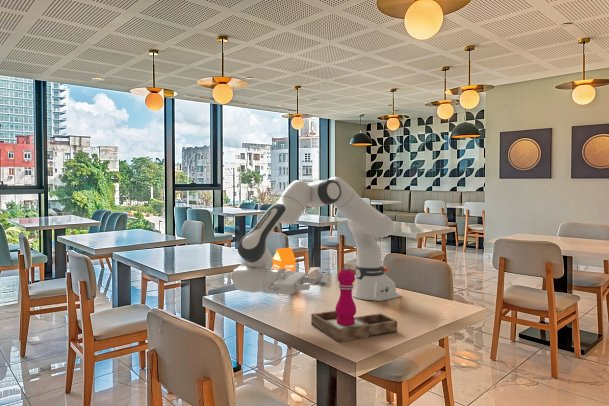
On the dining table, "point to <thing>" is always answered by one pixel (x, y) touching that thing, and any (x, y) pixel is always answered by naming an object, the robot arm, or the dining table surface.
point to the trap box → (353, 326)
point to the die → (315, 273)
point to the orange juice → (284, 259)
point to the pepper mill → (346, 298)
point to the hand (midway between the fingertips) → (312, 284)
